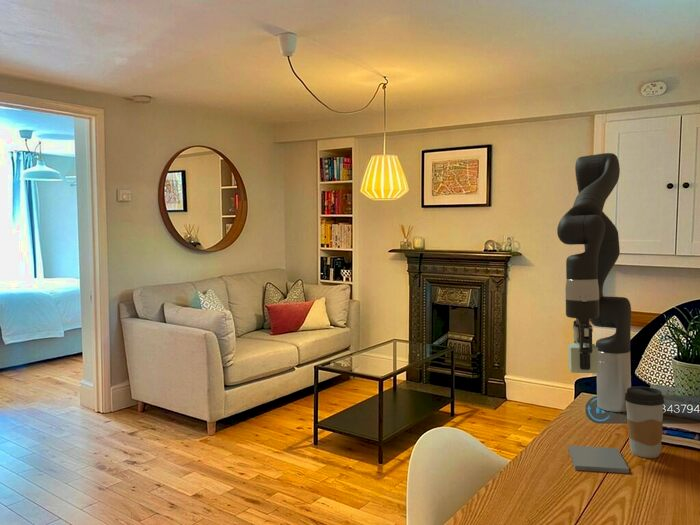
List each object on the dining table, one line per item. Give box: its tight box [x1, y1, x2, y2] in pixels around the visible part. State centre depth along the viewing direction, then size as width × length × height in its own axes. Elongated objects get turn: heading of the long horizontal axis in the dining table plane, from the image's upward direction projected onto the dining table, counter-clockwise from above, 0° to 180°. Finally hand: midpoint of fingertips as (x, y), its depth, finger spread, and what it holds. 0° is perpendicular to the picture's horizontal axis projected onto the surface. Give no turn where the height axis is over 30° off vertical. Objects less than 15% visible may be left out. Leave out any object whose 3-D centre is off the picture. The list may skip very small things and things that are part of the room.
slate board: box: [568, 445, 630, 474], centre depth 127 cm, size 12×11×1 cm
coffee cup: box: [625, 386, 665, 459], centre depth 130 cm, size 8×8×15 cm
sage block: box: [567, 342, 598, 374], centre depth 134 cm, size 6×6×6 cm
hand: (583, 366), depth 134 cm, fingers closed on sage block, 6 cm apart
